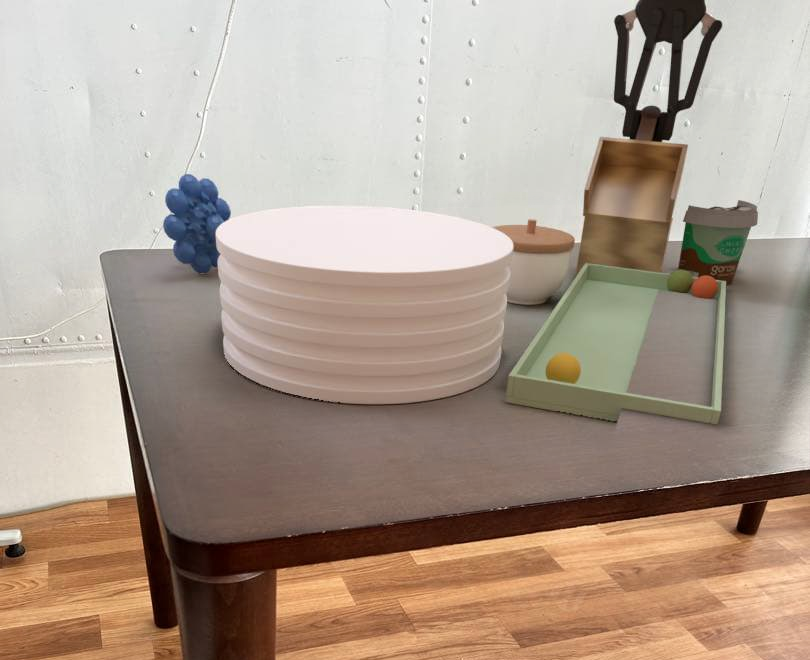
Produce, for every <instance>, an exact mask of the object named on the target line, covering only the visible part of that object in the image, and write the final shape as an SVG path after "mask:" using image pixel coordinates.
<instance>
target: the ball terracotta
mask: <svg viewBox="0 0 810 660" xmlns="http://www.w3.org/2000/svg"><path fill="white" fill-rule="evenodd" d="M717 291H718V284H717V281H716V280H715V279H714V278H713V277H711V276H707V275H705V276H701V277H699V278H697V279H696V280H695V281H694V282H693V284H692V287H691V293H692V294H691V295H692V296H693V297H695V298H699V299H700V298H701V299H714V298H715V295H716V294H717Z"/></svg>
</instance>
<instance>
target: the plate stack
mask: <svg viewBox="0 0 810 660" xmlns="http://www.w3.org/2000/svg"><path fill="white" fill-rule="evenodd" d="M216 247H217V250H218V252H219V253H220V256H219V258H218V267H217V275H218V278H219V281H220V285H219V302H220V305H221V308H222V310H221V314H220V315H221V317H220V318H221V330H222V333H223V338H222V341H223V342H222V343H223V344H222V345H223V354H224V355H225V356H224V355H223V356H224V359H225V358H226V359H227V361H228V362H229V364H230V365H231V366H232V367H234V369H236V370H237V371H238V372H239V373H241V374H242V375H244V376H246V377H247V378H250V379H252V380H254V381H256V382H258V383H260V384H263V385H266V386H268V387H271V388H274V389H277V390H281V391H283V392H286V393H290V394H294V395H299V396H303V397H307V398H306V399H308V398H312V399H311V400H314V399H319V400H318V401H321V400H323V401H322V402H328V401H329V402H331V403H338V402H340V404H350V405H351V404H352V405H354V404H355V405H397V404H398V405H399V404H411V403H420V402H427V401H433V400H439V399H444V398H449V397H452V396H455V395H459V394H463V393H465V392H469V391H471V390H473V389H475V388H477V387H480V386H481V385H483V384H485V383H486V382H487V381H489V380H490V379H492V377H494V376H495V375H496V373H497V372H498V370H499V369H500V365H501V359H502V346H501V345H502V343H503V340H504V333H505V322H504V319H505V317H506V315H507V307H508V302H507V296H506V292H507V291H508V288H509V282H510V270H509V268H508V266H509V265H510V263H511V261H512V257H513V248H514V245H513V242H512V240H511V239H510V238H509V237H508V236H507V235H505V234H504V233H502V232H500V231H498V230H496V229H494V228H492V227H491V226H489V225H487V224H484V223H480V222H477V221H474V220H471V219H467V218H462V217H458V216H453V215H449V214H443V213H437V212H430V211H424V210H416V209H408V208H407V209H406V208H400V207H399V208H398V207H388V206H387V207H386V206H385V207H384V206H370V205H369V206H368V205H305V206H304V205H303V206H302V205H301V206H289V207H278V208H271V209H264V210H258V211H252V212H249V213H245V214H241V215H238V216H235V217H232V218H229V220H227V221H225V222H224V223H222V224H221V225H220V226H219V227H218V228H217V230H216ZM226 359H225V360H226ZM227 361H226V362H227ZM229 364H228V365H229ZM230 365H229V366H230ZM303 397H302V398H303Z"/></svg>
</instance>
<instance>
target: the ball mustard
mask: <svg viewBox="0 0 810 660" xmlns="http://www.w3.org/2000/svg"><path fill="white" fill-rule="evenodd" d="M580 373H581V367H580V364H579V362H578V360H577V359H576V358H575V357H574V356H573V355H570V354H567V353H560V354H557V355H555V356H553V357H552V358H551V359H550V360H549V362H548V363H547V366H546V377H547V379H548V380H553V381H559V382H565V383H571V384H575V383H576V382H577V380H578V379H579V377H580Z"/></svg>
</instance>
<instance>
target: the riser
mask: <svg viewBox="0 0 810 660" xmlns="http://www.w3.org/2000/svg"><path fill="white" fill-rule="evenodd" d="M583 219H584V220H583V225H582V232H581V238H580V243H579V251H578V256H577V262H576V269H575V275H574V277H576V276H577V275H578V273H579V272H580V270H581V269H582V268H583V266H584V265H585V263H589V264H598V265H605V266H613V267H621V268H628V269H636V270H644V271H651V272H659V273H663V272H662V270H663V267H664V262H665V257H666V254H667V249H668V244H669V239H670V234H671V229H672V225H673V220H674V218H673V217H672V219H671V223H670V226H665V225H657V224H648V223H640V222H631V221H622V220H614V219H605V218H596V217H588V216H584V218H583Z"/></svg>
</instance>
